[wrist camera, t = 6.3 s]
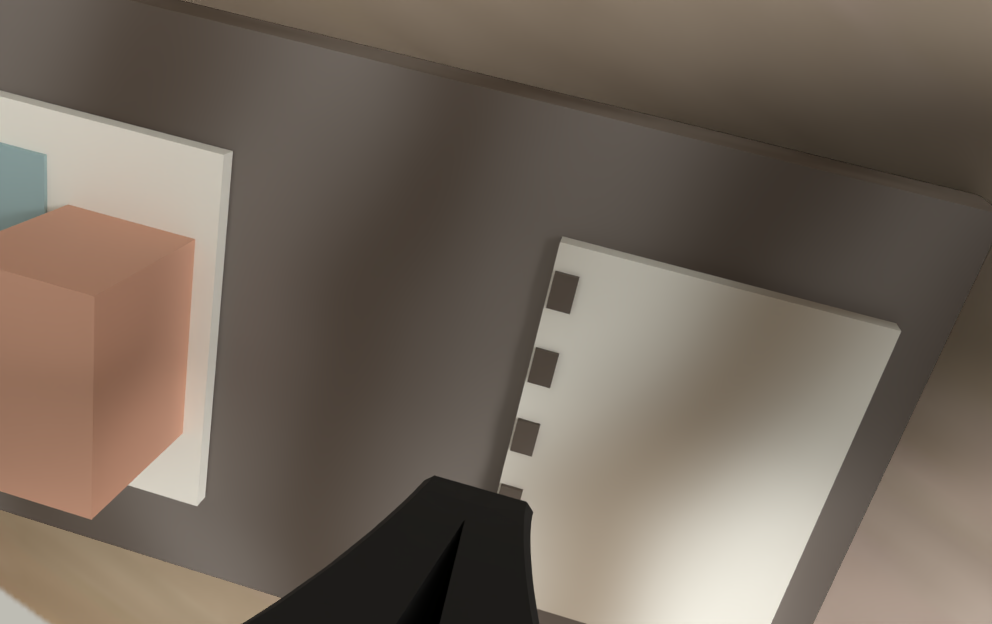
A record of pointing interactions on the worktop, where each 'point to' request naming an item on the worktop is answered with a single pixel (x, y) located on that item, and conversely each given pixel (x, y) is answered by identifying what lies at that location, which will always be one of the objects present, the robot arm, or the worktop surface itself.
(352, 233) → the ticket board
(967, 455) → the worktop surface
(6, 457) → the stub
